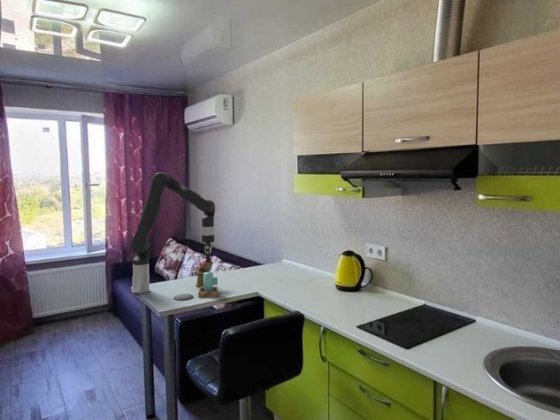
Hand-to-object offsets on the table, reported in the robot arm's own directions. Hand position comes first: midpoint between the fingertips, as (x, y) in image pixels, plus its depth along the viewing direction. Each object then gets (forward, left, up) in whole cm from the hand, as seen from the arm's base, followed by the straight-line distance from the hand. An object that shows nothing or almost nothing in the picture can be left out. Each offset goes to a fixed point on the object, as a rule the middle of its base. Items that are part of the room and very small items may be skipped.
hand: (208, 260), depth 232 cm
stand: (0, 0, -20) cm, 20 cm away
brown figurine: (-3, +17, -20) cm, 26 cm away
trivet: (-14, -5, -20) cm, 25 cm away
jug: (+1, -1, -20) cm, 20 cm away
